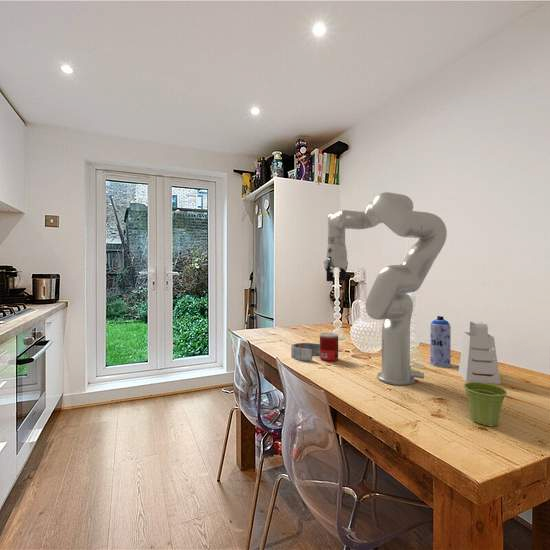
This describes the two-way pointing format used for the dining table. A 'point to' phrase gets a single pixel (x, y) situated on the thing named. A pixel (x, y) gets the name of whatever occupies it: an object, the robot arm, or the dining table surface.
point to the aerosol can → (440, 343)
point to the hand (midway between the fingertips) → (336, 280)
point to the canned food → (329, 347)
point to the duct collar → (304, 351)
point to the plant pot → (485, 402)
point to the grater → (478, 355)
